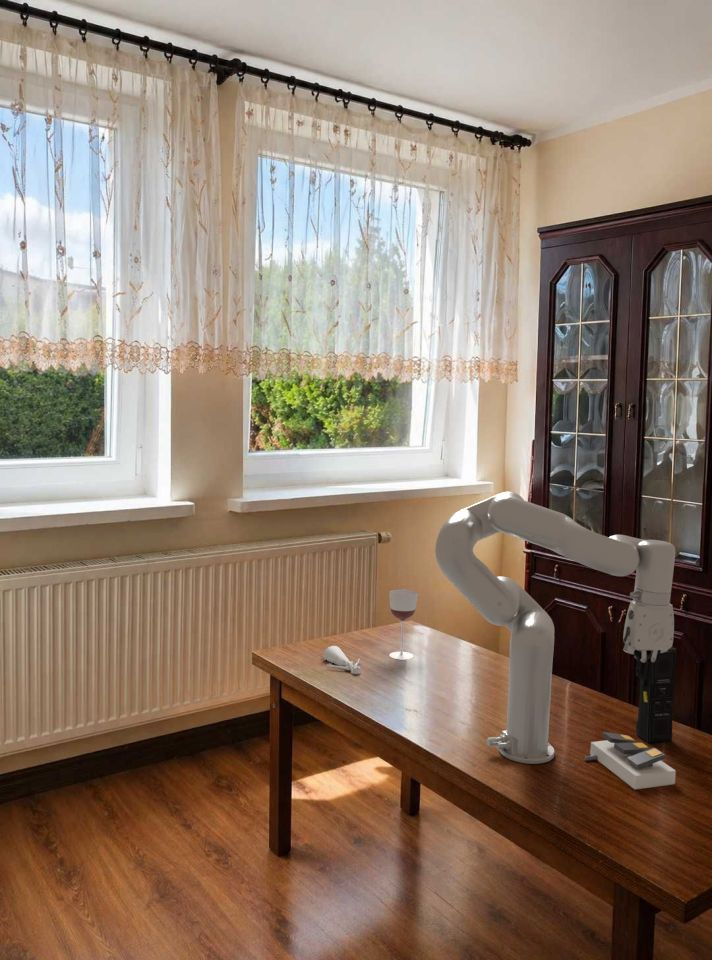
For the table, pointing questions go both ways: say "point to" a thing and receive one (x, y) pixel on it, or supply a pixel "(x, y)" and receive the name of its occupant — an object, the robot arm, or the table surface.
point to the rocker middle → (631, 747)
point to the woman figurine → (340, 659)
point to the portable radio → (657, 700)
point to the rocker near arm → (617, 738)
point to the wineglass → (402, 614)
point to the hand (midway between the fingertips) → (642, 677)
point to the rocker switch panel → (631, 767)
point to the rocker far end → (646, 758)
